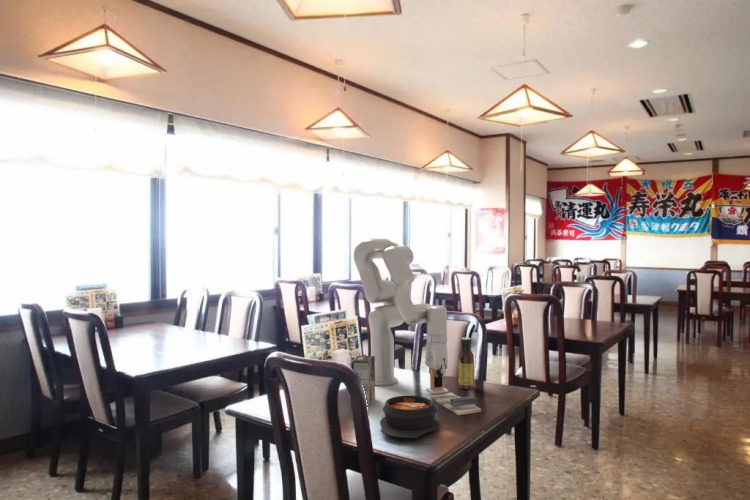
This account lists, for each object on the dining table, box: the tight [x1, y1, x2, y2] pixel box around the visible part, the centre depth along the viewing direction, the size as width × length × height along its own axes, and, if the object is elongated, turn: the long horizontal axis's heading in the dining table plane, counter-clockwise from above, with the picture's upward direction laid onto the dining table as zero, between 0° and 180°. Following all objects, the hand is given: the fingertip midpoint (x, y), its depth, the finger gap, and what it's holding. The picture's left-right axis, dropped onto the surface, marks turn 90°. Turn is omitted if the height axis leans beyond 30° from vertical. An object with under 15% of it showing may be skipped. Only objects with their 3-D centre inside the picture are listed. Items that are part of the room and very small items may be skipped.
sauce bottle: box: [457, 336, 475, 390], centre depth 204 cm, size 6×6×20 cm
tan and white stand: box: [425, 368, 449, 395], centre depth 195 cm, size 5×7×9 cm
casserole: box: [379, 394, 440, 439], centre depth 159 cm, size 25×19×8 cm
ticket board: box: [430, 392, 482, 416], centre depth 182 cm, size 20×9×4 cm, turn 21°
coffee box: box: [352, 355, 376, 407], centre depth 186 cm, size 9×6×16 cm
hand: (436, 386), depth 195 cm, fingers closed
